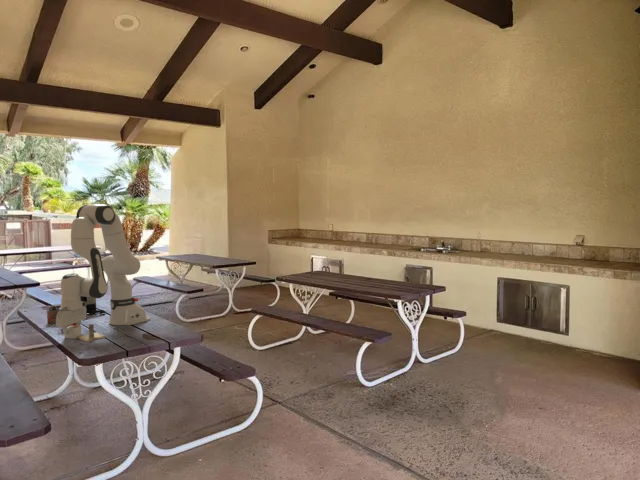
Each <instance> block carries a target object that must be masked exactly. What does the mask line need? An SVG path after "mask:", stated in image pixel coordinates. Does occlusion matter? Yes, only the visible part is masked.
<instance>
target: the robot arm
mask: <svg viewBox="0 0 640 480" xmlns="http://www.w3.org/2000/svg"><path fill="white" fill-rule="evenodd" d="M98 225H99V226H100V228H101V232H102V238H103V241H104V246H105V249H106V250H108V251H109V253H111V254H110V255H106V256H104V257H102V255H101V252H100V250H99V248H97V246H96V243H95V233H94V232H95V227H96V226H98ZM70 246H71V249H72V250H73V251H72V252H74V253H75V254H76V255H78V256H79V257H81V258H84V259H85V260H86V261H88V263H89V266H90V272H91V278H87V277H83V276H80V275H79V274H78V273H76V272H75V273H74V272H73V273H67V274H65V275H63V276H61V277H62V278H61V280H60V281H61V282H60V293H61V299H60V303H61V304H60V305H61V308H59V311H58V313H57V316H56V323H55V326H56V327H57V328H60V329H61V330H62V331H63V335H67V334H69V333H68V332H69V331H67V326H68V325H71V324H74V323H77V324H76V326H82V321H85V320H86V318H87V314H86V307H85V306H86V305H87V303H86V302H83V301H81V298H80V296H84V297H93V298H96V299H101V298H103V297H104V296H105V295H106V293H107V292H108V289H109V287H108V283H109V286H110V297H111V298H110V317H109V320H108V321H109V322H108V325H112V326H131V325H136V324H139V323H143V322H147V321H150V320H151V317H150V316H148V315H147V313H146V310H145V308H143V307H142V306H140V305H139V304H137V303H136V302H139V301H140V299H139V298H138V297H133V291H132V290H133V288H132V286H133V285H132V283H131V282H130V281H129V280H128V278H127V276H131V275H135V274H137V273H138V272H139V271H140V269H141V262H140V260H139V258H137V256H135V255H134V253H133V252H132V251H131V249H130V247H129V246H128V243H127V239H126V236H125V231H124V227H123V223H122V221H121V219H120V217H119V215H118V214H117V213H116V212H115V210H114V208H112V207H111V205H108V204H104V203H103V204H102V203H101V204H99V203H97V204H96V203H93V204H84V205H82V206H80V207H79V208H78V209H77V212H76V217H75V219H73V221H72V222H71V229H70ZM105 274H106V276H107V279H108V281H109V282H108V283H107V281H106V277H105Z"/></svg>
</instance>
